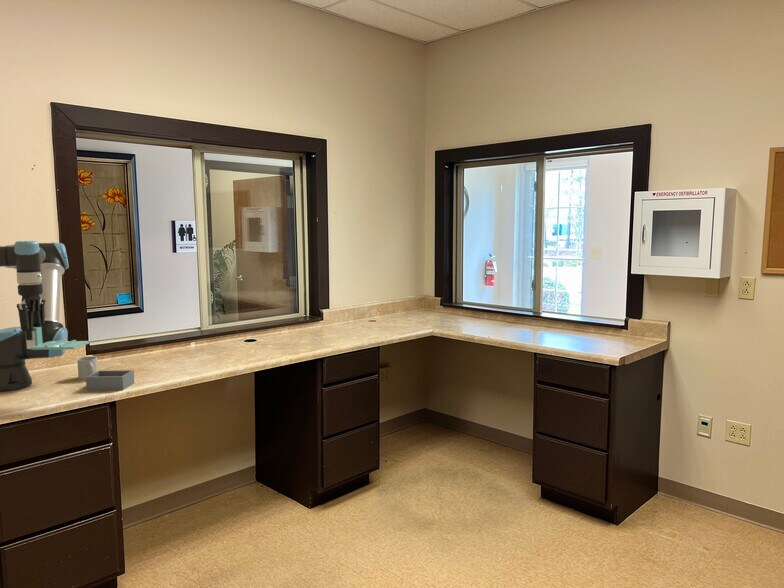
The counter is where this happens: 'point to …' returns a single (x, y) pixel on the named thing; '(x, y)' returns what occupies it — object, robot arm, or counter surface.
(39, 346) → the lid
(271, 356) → the counter surface
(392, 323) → the counter surface
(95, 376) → the tub
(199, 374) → the counter surface
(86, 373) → the cup
